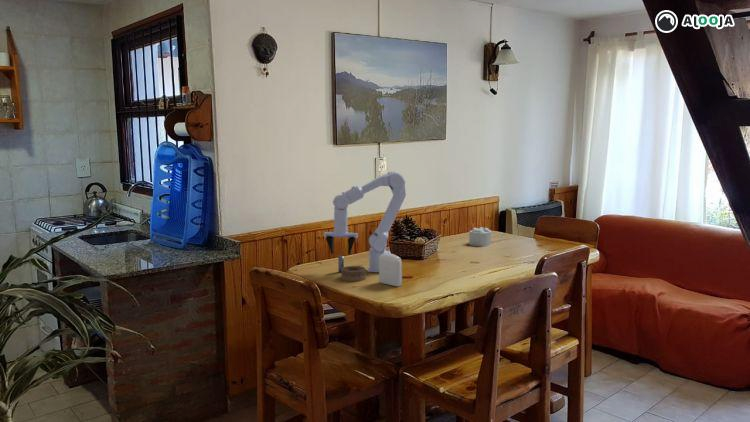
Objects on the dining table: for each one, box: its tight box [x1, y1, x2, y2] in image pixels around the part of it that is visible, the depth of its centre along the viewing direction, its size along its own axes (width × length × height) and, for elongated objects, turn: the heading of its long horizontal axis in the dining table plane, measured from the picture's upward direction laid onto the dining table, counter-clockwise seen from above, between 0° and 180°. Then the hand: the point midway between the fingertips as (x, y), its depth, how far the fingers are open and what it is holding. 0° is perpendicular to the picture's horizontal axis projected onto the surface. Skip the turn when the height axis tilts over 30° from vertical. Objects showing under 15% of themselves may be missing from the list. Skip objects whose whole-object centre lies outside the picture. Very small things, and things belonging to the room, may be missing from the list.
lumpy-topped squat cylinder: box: [468, 226, 492, 247], centre depth 315 cm, size 10×13×9 cm
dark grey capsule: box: [337, 255, 345, 274], centre depth 253 cm, size 2×2×7 cm
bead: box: [340, 265, 367, 282], centre depth 243 cm, size 10×10×4 cm
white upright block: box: [378, 253, 403, 287], centre depth 234 cm, size 10×4×12 cm, turn 47°
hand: (340, 253), depth 253 cm, fingers open, 7 cm apart
